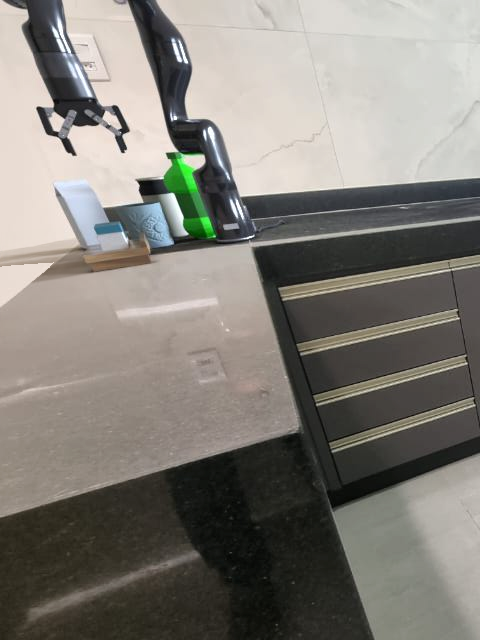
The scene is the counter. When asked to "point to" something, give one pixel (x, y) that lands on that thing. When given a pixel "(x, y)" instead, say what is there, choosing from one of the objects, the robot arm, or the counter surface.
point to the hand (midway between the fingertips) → (99, 154)
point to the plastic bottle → (187, 197)
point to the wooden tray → (119, 255)
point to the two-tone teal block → (111, 236)
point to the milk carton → (81, 209)
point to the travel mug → (163, 202)
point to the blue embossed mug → (146, 222)
